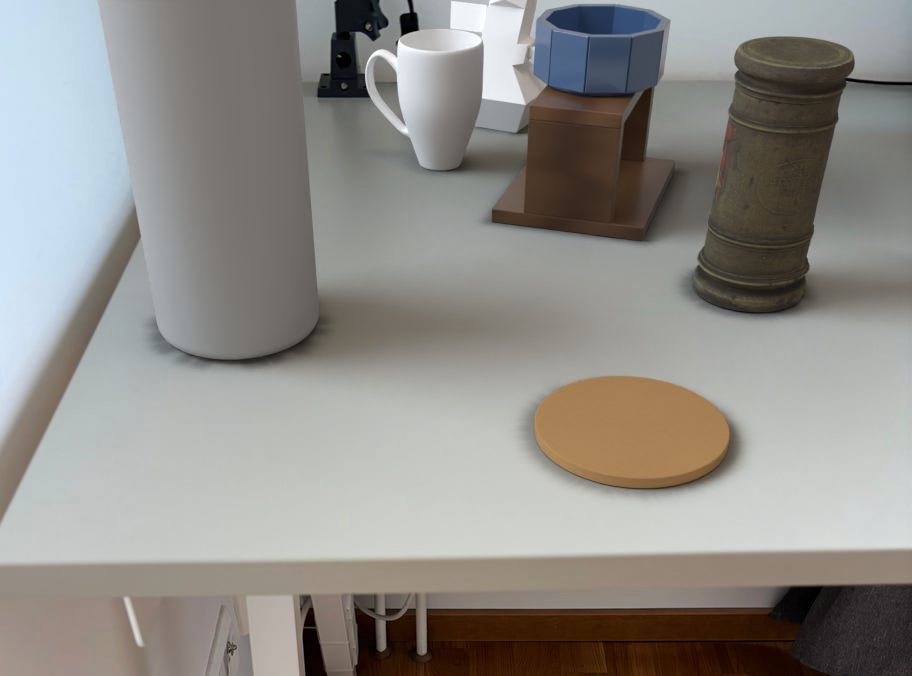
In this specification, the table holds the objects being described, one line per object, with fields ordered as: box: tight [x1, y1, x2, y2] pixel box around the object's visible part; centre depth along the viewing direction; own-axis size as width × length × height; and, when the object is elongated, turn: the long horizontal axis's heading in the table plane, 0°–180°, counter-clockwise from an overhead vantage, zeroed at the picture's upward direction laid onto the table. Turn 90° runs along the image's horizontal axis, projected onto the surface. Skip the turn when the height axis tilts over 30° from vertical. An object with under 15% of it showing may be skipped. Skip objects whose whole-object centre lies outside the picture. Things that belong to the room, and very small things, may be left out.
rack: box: [491, 85, 676, 242], centre depth 102 cm, size 14×18×10 cm
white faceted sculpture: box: [449, 0, 547, 134], centre depth 117 cm, size 8×14×14 cm, turn 64°
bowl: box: [533, 3, 671, 96], centre depth 96 cm, size 11×12×5 cm
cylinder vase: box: [97, 0, 320, 361], centre depth 77 cm, size 12×12×25 cm
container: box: [691, 35, 856, 313], centre depth 84 cm, size 9×9×18 cm
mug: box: [364, 28, 484, 171], centre depth 108 cm, size 12×8×11 cm
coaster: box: [533, 375, 731, 489], centre depth 73 cm, size 13×13×1 cm
